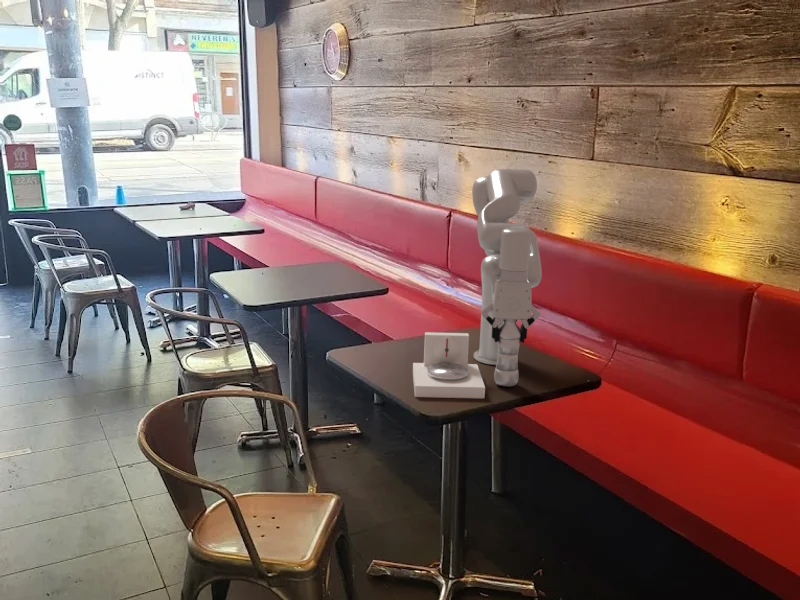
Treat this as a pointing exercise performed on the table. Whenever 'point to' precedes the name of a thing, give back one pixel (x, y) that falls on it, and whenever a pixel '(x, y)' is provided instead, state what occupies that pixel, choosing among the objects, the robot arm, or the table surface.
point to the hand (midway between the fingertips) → (508, 340)
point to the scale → (447, 351)
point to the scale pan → (447, 371)
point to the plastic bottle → (508, 353)
